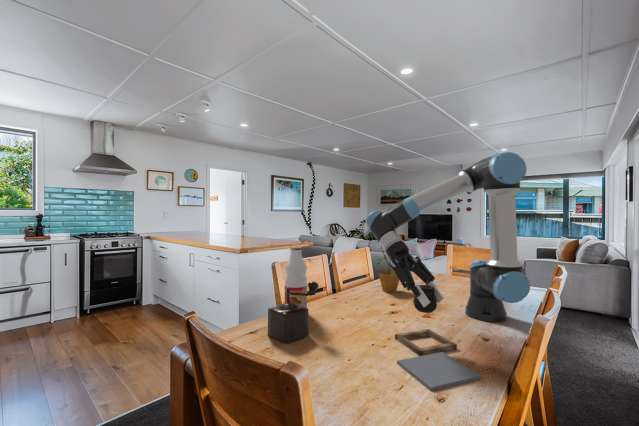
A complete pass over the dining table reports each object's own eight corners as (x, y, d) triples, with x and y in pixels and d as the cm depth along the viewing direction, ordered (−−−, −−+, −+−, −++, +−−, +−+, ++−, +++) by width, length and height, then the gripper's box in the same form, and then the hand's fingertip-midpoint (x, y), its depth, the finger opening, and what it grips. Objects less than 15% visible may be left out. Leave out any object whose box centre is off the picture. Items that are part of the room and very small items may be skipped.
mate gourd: (412, 313, 97) (412, 281, 97) (414, 306, 104) (413, 277, 104) (437, 315, 94) (436, 283, 94) (436, 308, 101) (436, 278, 101)
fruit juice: (311, 313, 128) (311, 247, 127) (293, 319, 121) (294, 248, 121) (297, 308, 134) (297, 245, 134) (280, 313, 128) (280, 246, 128)
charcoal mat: (442, 354, 92) (442, 352, 92) (481, 378, 78) (481, 375, 78) (396, 363, 86) (396, 360, 86) (430, 390, 73) (430, 387, 73)
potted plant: (373, 294, 158) (373, 236, 157) (372, 286, 176) (373, 234, 176) (408, 296, 155) (409, 237, 154) (404, 287, 173) (404, 234, 173)
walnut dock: (428, 333, 108) (428, 329, 108) (456, 349, 95) (456, 344, 95) (394, 338, 103) (394, 334, 103) (419, 356, 91) (419, 351, 91)
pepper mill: (287, 345, 98) (287, 289, 97) (266, 335, 105) (267, 283, 105) (320, 331, 109) (321, 281, 109) (299, 323, 116) (300, 276, 116)
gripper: (406, 251, 117) (444, 303, 104) (369, 255, 106) (407, 314, 93) (417, 238, 113) (459, 291, 100) (380, 241, 102) (421, 301, 88)
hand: (434, 302), depth 96 cm, fingers closed on mate gourd, 7 cm apart
